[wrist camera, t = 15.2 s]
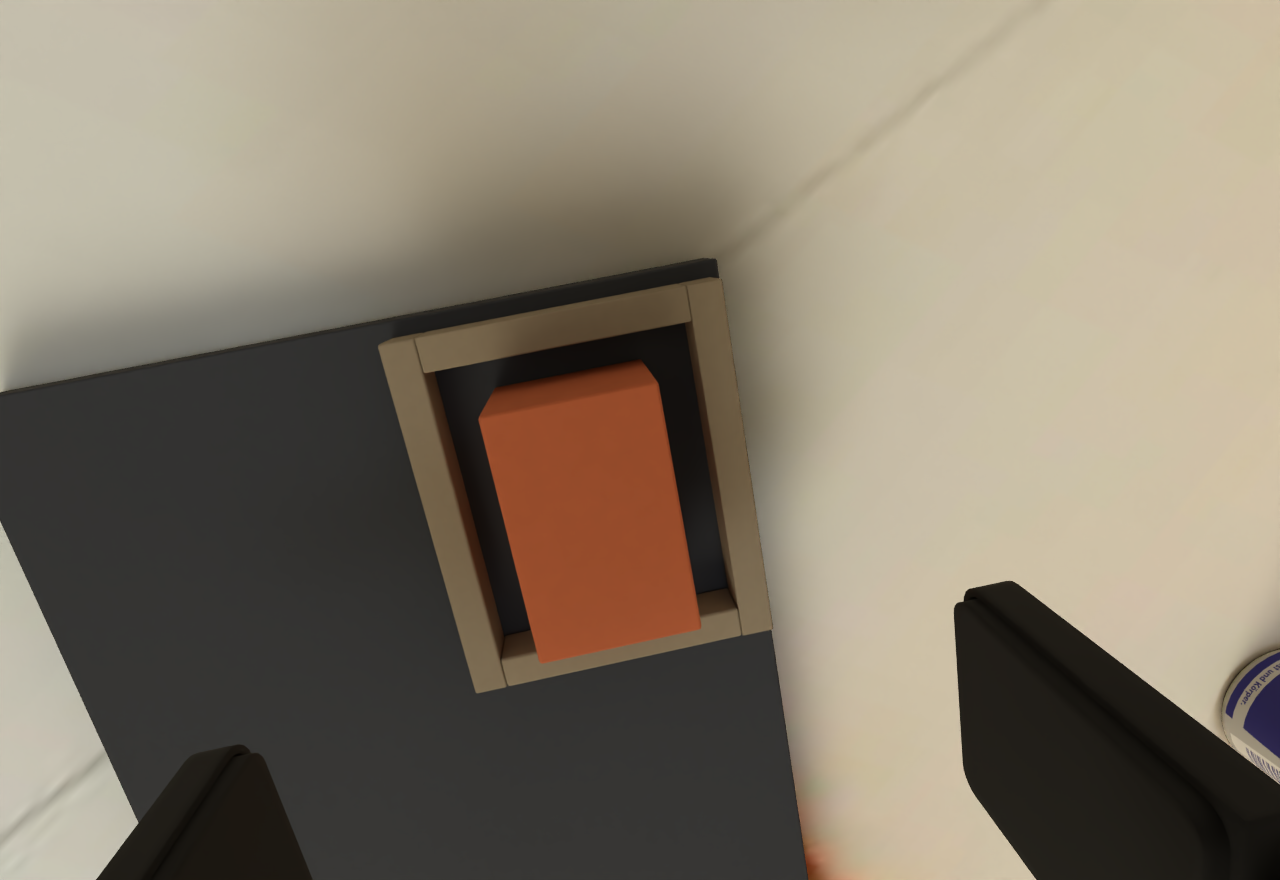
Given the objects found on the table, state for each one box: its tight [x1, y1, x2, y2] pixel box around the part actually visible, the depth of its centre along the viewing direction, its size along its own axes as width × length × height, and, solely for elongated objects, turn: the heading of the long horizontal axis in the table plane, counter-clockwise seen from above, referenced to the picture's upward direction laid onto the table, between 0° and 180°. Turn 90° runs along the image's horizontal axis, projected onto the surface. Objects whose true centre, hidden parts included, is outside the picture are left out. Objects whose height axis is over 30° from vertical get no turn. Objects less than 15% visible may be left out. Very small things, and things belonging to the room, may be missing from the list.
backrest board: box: [0, 258, 808, 880], centre depth 24 cm, size 30×22×4 cm
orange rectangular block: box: [478, 359, 701, 664], centre depth 20 cm, size 7×4×4 cm, turn 10°
